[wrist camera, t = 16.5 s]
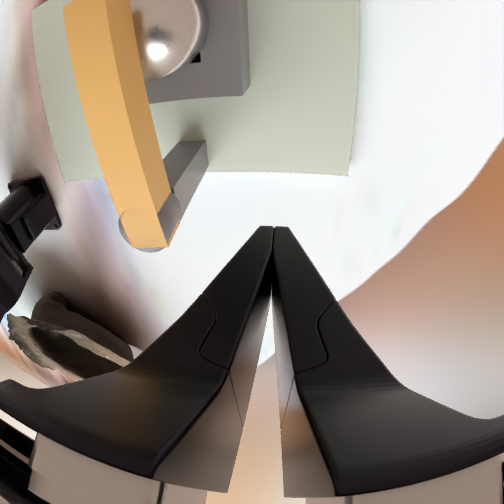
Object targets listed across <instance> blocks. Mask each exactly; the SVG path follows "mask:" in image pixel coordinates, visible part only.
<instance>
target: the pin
mask: <svg viewBox="0 0 504 504" xmlns="http://www.w3.org/2000/svg"><path fill="white" fill-rule="evenodd" d="M130 4H131V11H132V18H133V24H134V30H135V36H136V42H137V47H138V53H139V58H140V63H141V68H142V73H143V78H144V83H145V84H147V83H150V82H152V81H155V80H158V79H160V78H163V77H166V76H169V75H171V74H174V73H176V72H178V71H180V70H182V69H183V68H185V67H186V66H187V65H189V64H190V63H191V62H192V61H193V60H194V59H195V58H196V57H197V55H198V54H199V53H200V51H201V50H202V48H203V46H204V44H205V42H206V39H207V35H208V30H209V20H208V14H207V11H206V8H205V6H204V4H203V3H202V1H201V0H130Z"/></svg>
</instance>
